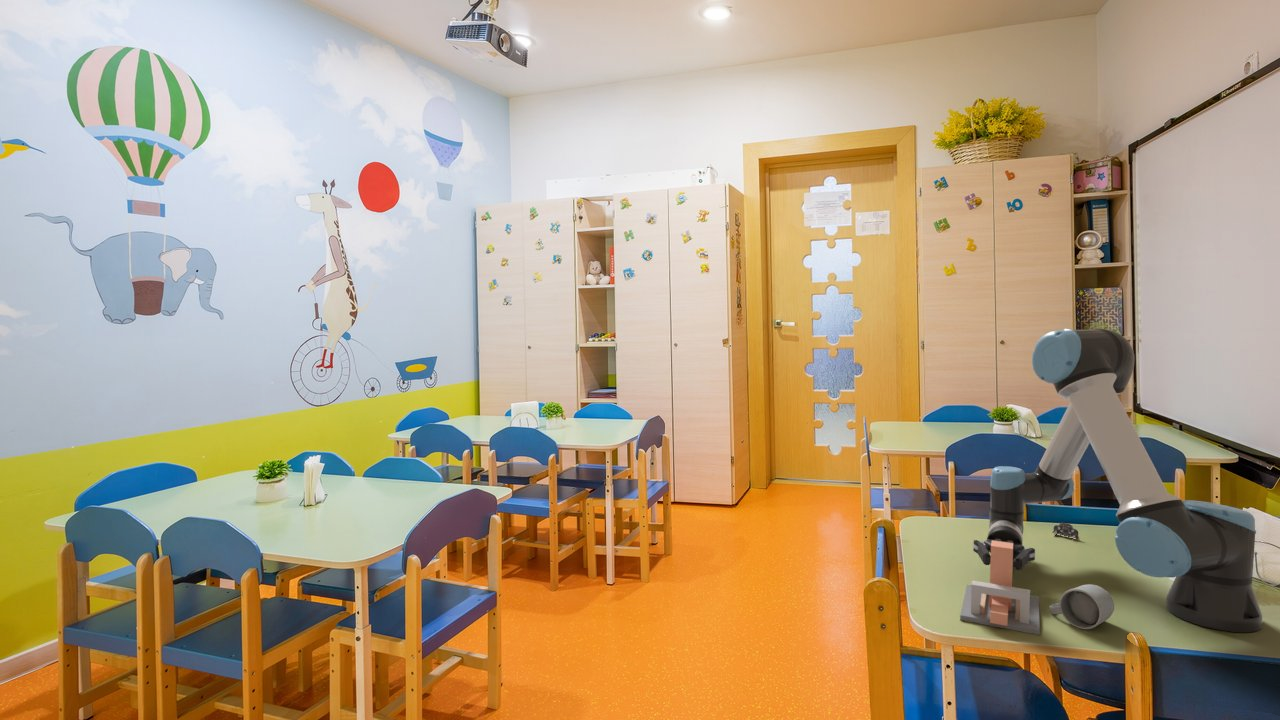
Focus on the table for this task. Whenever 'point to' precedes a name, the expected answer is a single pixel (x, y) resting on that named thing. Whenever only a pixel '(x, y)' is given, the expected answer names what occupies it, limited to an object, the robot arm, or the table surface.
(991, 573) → the clip bar
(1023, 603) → the mount
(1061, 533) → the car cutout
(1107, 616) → the ceramic mug
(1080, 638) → the table surface
